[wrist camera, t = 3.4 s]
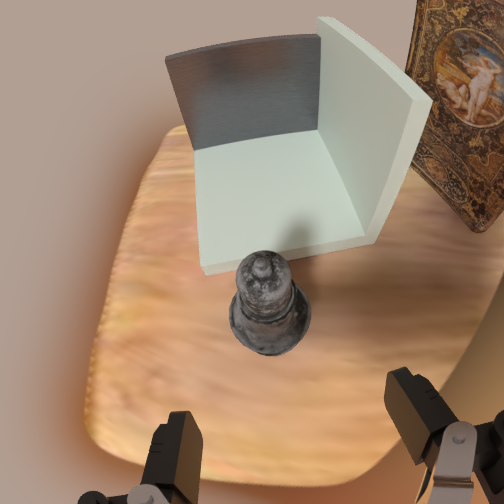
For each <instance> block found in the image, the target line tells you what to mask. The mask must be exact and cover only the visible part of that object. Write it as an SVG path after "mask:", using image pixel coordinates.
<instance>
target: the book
mask: <svg viewBox="0 0 504 504" xmlns="http://www.w3.org/2000/svg"><path fill="white" fill-rule="evenodd" d="M405 74H406V75H407V76H409V77H410V78H411V79H412V80H413V81H414V82H415V83H416V84H417V85H418V86H419V87H420V88H421V89H422V90H423V91H424V92H425V93H426V94H427V95H428V96H429V97H430V98H431V99H432V100H433V102H432V106H431V109H430V112H429V115H428V118H427V121H426V123H425V126H424V129H423V132H422V135H421V137H420V140H419V143H418V146H417V148H416V151H415V153H414V156H413V158H412V161H411V164H410V166H411V167H412V168H413V169H414V170H415V171H416V172H417V173H418V174H419V175H420V176H421V177H422V178H424V179H425V180H426V181H427V182H428V183H429V184H430V185H431V186H432V187H433V188H434V189H435V190H436V191H437V192H438V193H439V195H440V196H441V197H442V198H443V199H444V200H445V201H446V202H447V203H448V204H449V205H450V206H451V207H452V208H453V209H454V211H455V212H456V213H457V214H458V215H459V216H460V217H461V218H462V220H463V221H464V222H465V223H466V224H467V225H468V227H469V228H470V229H471V230H472V231H473V232H476V233H482V232H485V231H486V230H487V229H488V228H489V227H490V226H491V225H492V224H493V222H494V221H495V220H496V219H497V218H498V216H499V215H500V214H501V213H502V212H503V210H504V0H417V5H416V12H415V19H414V26H413V32H412V37H411V43H410V49H409V54H408V59H407V63H406V68H405Z"/></svg>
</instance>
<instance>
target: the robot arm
mask: <svg viewBox="0 0 504 504" xmlns="http://www.w3.org/2000/svg"><path fill="white" fill-rule="evenodd" d="M384 402H385V406H386V409H387V411H388V413H389V415H390V417H391V419H392V420H393V422H394V424H395V426H396V428H397V430H398V432H399V434H400V436H401V438H402V439H403V441H404V443H405V445H406V447H407V449H408V451H409V453H410V455H411V457H412V459H413V461H414V463H415V465H418V464H420V463H423V462H425V464H426V466H427V468H426V470H425V473H424V477H423V480H422V483H421V486H420V489H419V491H418V494H417V497H416V500H415V502H414V504H470V501H471V497H472V493H473V488H474V487H473V486H474V483H473V482H471V473H472V472H473V471H474V472H475V474H476V476H477V478H478V480H479V482H480V484H481V486H482V488H483V490H484V493H485V495H486V497H487V498H488V501H489V503H490V504H504V410H503V411H501V412H500V413H499V414H497V416H496V418H495V419H494V421H492V422H488V423H484V424H480V425H476V426H473V425H472V424H470V423H468V422H464V421H459V420H458V419H457V417H456V416H455V415H454V413H453V412H452V411H451V409H450V408H449V407H448V405H447V404H446V403H445V401H444V400H443V398H442V397H441V396H439V393H438V392H437V390H436V389H434V387H433V385H432V384H431V383H430V381H429V380H428V379H426V378H425V377H423V376H421V375H419V374H417V375H414V376H413V375H412V374H411V372H410V371H409V370H408V368H407V367H402V368H399V369H396V370H393V371H390V372H388V373H387V379H386V387H385V394H384ZM202 450H203V438H202V434H201V432H200V430H199V428H198V426H197V424H196V422H195V420H194V418H193V416H192V414H191V412H190V411H175V412H171V413H170V415H169V419H168V423H167V424H160V426H159V427H158V428H157V430H156V431H155V432H154V434H153V438H152V441H151V445H150V449H149V453H148V457H147V461H146V465H145V469H144V473H143V477H142V481H141V483H140V485H139V486H136V487H134V488H133V489H132V490H131V491H130V492H129V494H126V495H121V496H114V497H106V496H104V495H103V494H102V493H100V492H97V491H89V492H86V493H85V494H83V495H82V496H81V497H80V499H79V500H78V504H198V493H199V482H200V471H201V460H202Z"/></svg>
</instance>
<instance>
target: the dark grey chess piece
mask: <svg viewBox="0 0 504 504" xmlns="http://www.w3.org/2000/svg"><path fill="white" fill-rule="evenodd" d="M236 284H237V288H238V290H237V293H236V294H235V296H234V297H233V299H232V302H231V305H230V308H229V321H230V325H231V329H232V331H233V333H234V334H235V336H236V338H237V339H238V340H239V341H240V342H241V343H242V344H243V345H244V346H246V347H247V348H249V349H251V350H253V351H255V352H257V353H258V354H261V355H265V356H278V355H281V354H285V353H286V352H288V351H290V350H291V349H293V348H294V347H295V346H296V345H297V344H298V342H299V341H300V340H301V339H302V338H303V337H304V335H305V333H306V331H307V330H308V328H309V324H310V320H311V307H310V304H309V301H308V298H307V296H306V294H305V293H304V291H303V290H302V289H301V288H300V287H299V286H298V285H297V284H296V283H294V281H293V280H292V275H291V269H290V266H289V264H288V263H287V261H286V260H285V258H283V257H282V256H281V255H280V254H278V253H276V252H274V251H269V250H260V251H257V252H253V253H252V254H250V255H248V256H247V257H246V258H244V259H243V260H242V262H241V263H240V265H239V267H238V269H237V273H236Z"/></svg>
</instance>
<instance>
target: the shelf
mask: <svg viewBox="0 0 504 504" xmlns="http://www.w3.org/2000/svg"><path fill="white" fill-rule="evenodd" d="M165 63H166V66H167V70H168V73H169V75H170V79H171V82H172V85H173V88H174V91H175V95H176V97H177V101H178V104H179V107H180V110H181V113H182V116H183V119H184V122H185V125H186V128H187V131H188V134H189V137H190V140H191V143H192V146H193V149H194V164H195V189H196V208H197V225H198V240H199V254H200V266H201V268H202V270H203V271H204V273H205V275H206V276H208V275H213V274H219V273H224V272H230V271H235V270H237V269H238V267H239V265H240V263H241V262H242V260H243V259H244V258H246V257H247V256H248V255H250V254H252V253H253V252H257V251H260V250H269V251H274V252H276V253H278V254H280V255H281V256H282V257H283V258H285V260H286V261H289V260H294V259H299V258H304V257H309V256H315V255H320V254H325V253H330V252H335V251H340V250H345V249H350V248H355V247H360V246H365V245H370V244H374V243H375V241H376V239H377V237H378V235H379V233H380V231H381V229H382V227H383V225H384V223H385V221H386V219H387V216H388V214H389V212H390V210H391V208H392V206H393V203H394V201H395V199H396V197H397V194H398V192H399V190H400V188H401V185H402V183H403V181H404V178H405V176H406V173H407V171H408V168H409V166H410V164H411V161H412V158H413V156H414V153H415V151H416V148H417V146H418V143H419V140H420V137H421V135H422V132H423V129H424V126H425V123H426V121H427V118H428V115H429V112H430V109H431V106H432V102H433V100H432V99H431V98H430V97H429V96H428V95H427V94H426V93H425V92H424V91H423V90H422V89H421V88H420V87H419V86H418V85H417V84H416V83H415V82H414V81H413V80H412V79H411V78H410V77H409V76H407V75H406V74H405V73H404V72H403V71H402V70H401V69H400V68H399V67H397V66H396V65H395V64H394V63H393V62H392V61H391V60H389V59H388V58H387V57H386V56H384V55H383V54H382V53H381V52H380V51H378V50H377V49H376V48H375V47H373V46H372V45H371V44H369V43H368V42H367V41H366V40H364V39H363V38H362V37H360V36H359V35H357V34H356V33H354V32H353V31H352V30H350V29H349V28H348V27H346V26H345V25H343V24H341V23H340V22H339V21H337V20H336V19H334V18H332V17H317V34H301V35H300V34H299V35H284V36H272V37H263V38H255V39H246V40H239V41H233V42H227V43H221V44H216V45H211V46H206V47H201V48H197V49H192V50H188V51H184V52H180V53H176V54H173V55H169V56H166V58H165Z"/></svg>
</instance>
